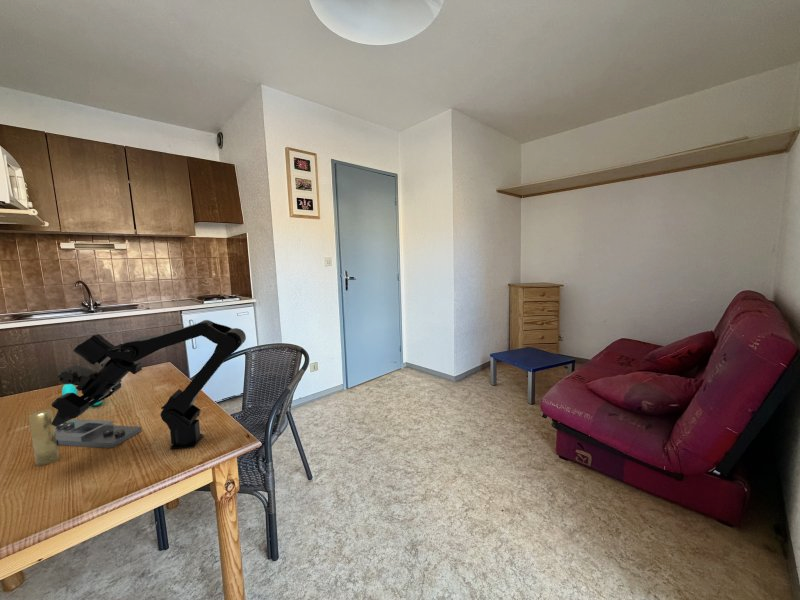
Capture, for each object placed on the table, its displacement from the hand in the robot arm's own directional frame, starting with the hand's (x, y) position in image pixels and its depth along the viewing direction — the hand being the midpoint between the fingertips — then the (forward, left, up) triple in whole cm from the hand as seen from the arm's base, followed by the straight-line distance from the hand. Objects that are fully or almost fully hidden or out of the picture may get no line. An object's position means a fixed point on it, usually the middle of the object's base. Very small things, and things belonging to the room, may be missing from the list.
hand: (66, 416), depth 88 cm
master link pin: (+6, 0, -12) cm, 13 cm away
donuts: (+22, -37, -12) cm, 44 cm away
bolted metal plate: (+2, -11, -12) cm, 16 cm away
